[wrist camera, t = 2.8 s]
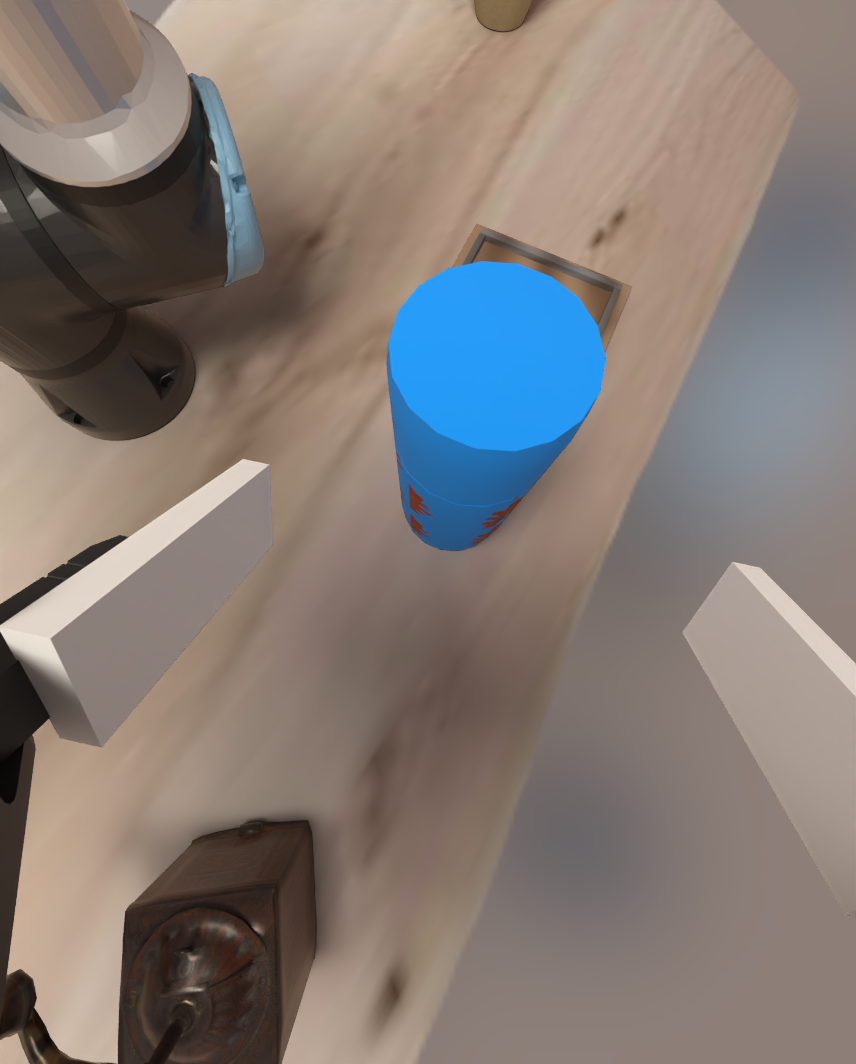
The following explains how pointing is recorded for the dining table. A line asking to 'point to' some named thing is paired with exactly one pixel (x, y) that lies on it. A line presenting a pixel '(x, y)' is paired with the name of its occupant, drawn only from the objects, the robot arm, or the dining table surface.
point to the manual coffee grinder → (205, 956)
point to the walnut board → (552, 274)
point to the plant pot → (502, 13)
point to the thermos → (485, 393)
